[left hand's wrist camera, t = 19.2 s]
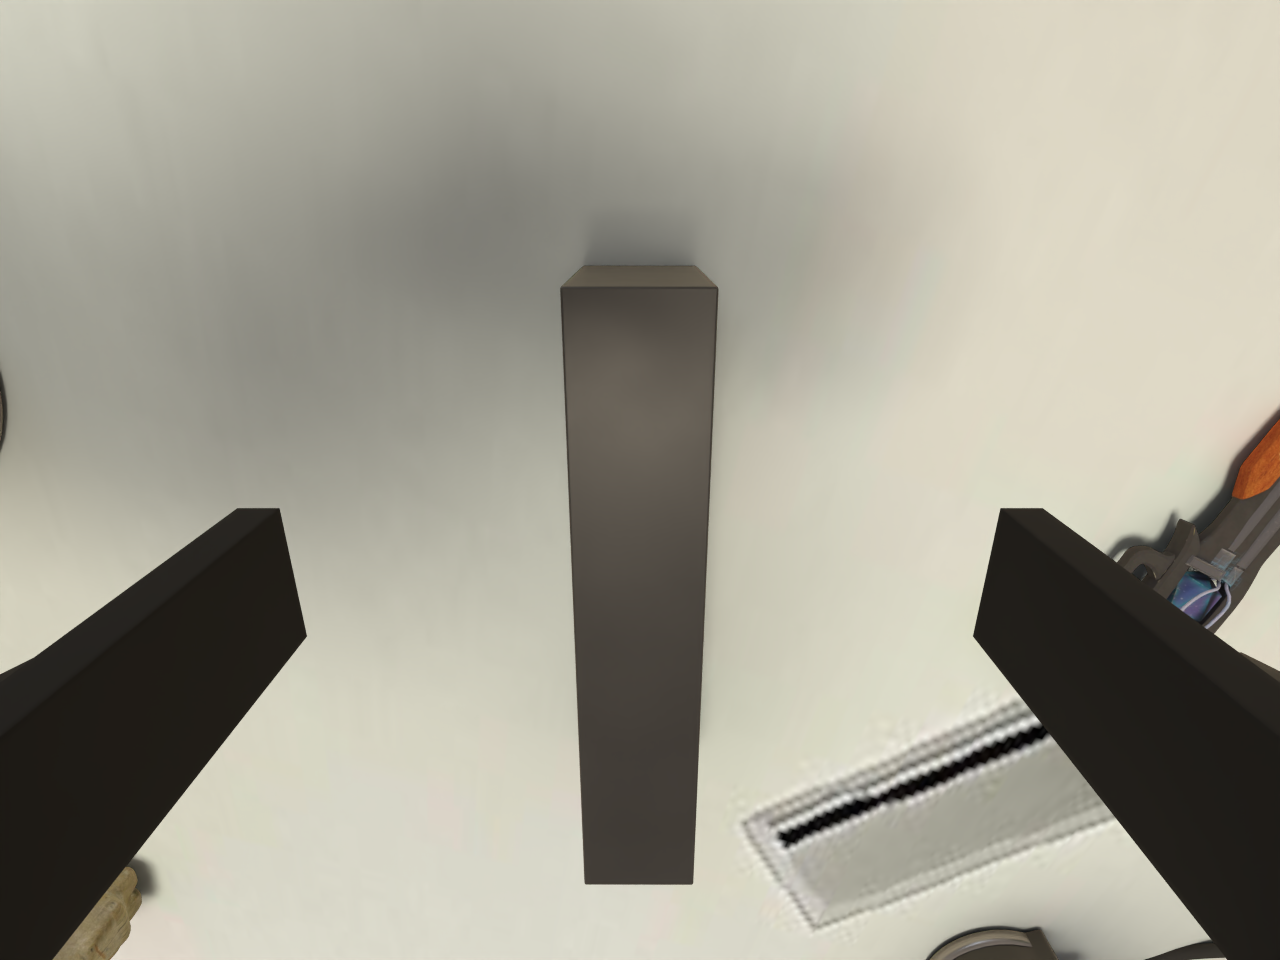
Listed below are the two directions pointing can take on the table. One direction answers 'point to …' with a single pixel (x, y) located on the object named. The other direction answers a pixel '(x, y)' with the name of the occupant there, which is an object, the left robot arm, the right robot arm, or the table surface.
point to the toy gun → (1220, 544)
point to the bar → (639, 557)
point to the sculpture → (105, 922)
